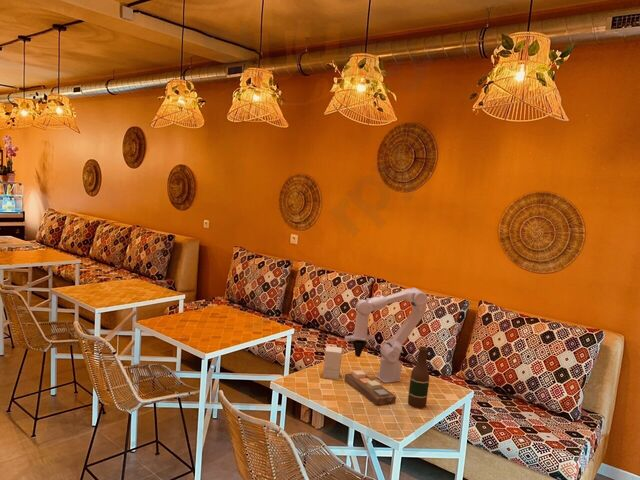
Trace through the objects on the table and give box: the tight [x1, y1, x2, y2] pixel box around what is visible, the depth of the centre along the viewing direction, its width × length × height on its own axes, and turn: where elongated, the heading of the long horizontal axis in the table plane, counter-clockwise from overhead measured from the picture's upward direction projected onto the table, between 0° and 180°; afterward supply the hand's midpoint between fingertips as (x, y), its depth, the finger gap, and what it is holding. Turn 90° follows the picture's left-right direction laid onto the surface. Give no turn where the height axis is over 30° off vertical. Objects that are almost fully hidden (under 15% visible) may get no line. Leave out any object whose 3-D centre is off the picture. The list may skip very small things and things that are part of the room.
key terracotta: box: [359, 378, 371, 385], centre depth 208 cm, size 4×4×2 cm
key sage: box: [366, 380, 382, 391], centre depth 203 cm, size 4×4×2 cm
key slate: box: [374, 389, 389, 397], centre depth 198 cm, size 4×4×2 cm
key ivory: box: [351, 369, 367, 379], centre depth 213 cm, size 4×4×2 cm
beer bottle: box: [407, 345, 430, 409], centre depth 196 cm, size 8×8×24 cm
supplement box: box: [322, 345, 343, 380], centre depth 218 cm, size 7×7×13 cm
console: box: [344, 372, 397, 407], centre depth 206 cm, size 9×26×3 cm, turn 27°
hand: (357, 356), depth 218 cm, fingers closed
